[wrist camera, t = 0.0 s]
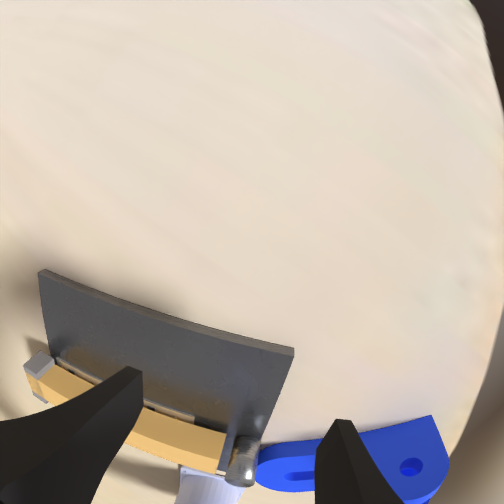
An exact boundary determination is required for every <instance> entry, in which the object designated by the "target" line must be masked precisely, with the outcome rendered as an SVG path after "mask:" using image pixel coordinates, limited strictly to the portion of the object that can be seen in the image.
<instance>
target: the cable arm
mask: <svg viewBox="0 0 504 504" xmlns="http://www.w3.org/2000/svg"><path fill="white" fill-rule="evenodd" d="M23 367H24V370H25V373H26V376H27V379H28V381H29V384H30V387H31V390H32V392H33V395H34V396H36V397H37V398H38V399H40V400H41V401H43V402H44V403H46V404H47V403H48V402H50V403H51V404H53V405H55V406H57V405H60V404H62V403H64V402H66V401H68V400H70V399H72V398H74V397H76V396H78V395H80V394H82V393H84V392H86V391H87V390H89V389H91V388H92V387H94V385H92V384H90V383H88V382H86V381H84V380H83V379H81V378H79V377H77V376H75V375H73V374H71V373H69V372H68V371H66V370H64V369H62V368H61V367H59V366H57V365H55V362H54V358H52V357H50V356H49V355H47V354H45V353H44V352H42V351H41V350H40V351H39V352H38V353H37V354H36V355H34V356H33V357H32V358H31V359H30V360H29V361H27V362H26V363H25V364H24V365H23ZM225 438H226V434H225V433H221V432H217V431H213V430H210V429H206V428H202V427H199V426H196V425H192V424H189V423H186V422H183V421H180V420H177V419H174V418H171V417H168V416H165V415H162V414H160V413H157V412H154V411H152V410H149V409H146V408H144V407H143V409H142V411H141V413H140V415H139V417H138V419H137V422H136V424H135V426H134V427H133V429H132V431H131V432H130V434H129V435H128V437H127V438H126V440H125V442H124V443H126V444H128V445H130V446H133V447H135V448H138V449H140V450H142V451H145V452H147V453H150V454H153V455H155V456H158V457H161V458H163V459H166V460H169V461H172V462H175V463H178V464H181V465H184V466H188V467H191V468H194V469H198V470H201V471H205V472H208V473H212V474H215V473H216V470H217V467H218V463H219V460H220V456H221V453H222V449H223V445H224V442H225Z"/></svg>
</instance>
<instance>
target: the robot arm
mask: <svg viewBox="0 0 504 504" xmlns="http://www.w3.org/2000/svg"><path fill="white" fill-rule="evenodd" d="M143 406H144V401H143V373H142V371H140V370H138V369H135V368H133V367H130V366H126V367H124V368H123V369H121V370H120V371H118V372H117V373H115V374H114V375H112V376H110V377H109V378H107V379H106V380H104V381H103V382H101V383H99V384H98V385H96V386H94V387H92V388H91V389H89V390H87V391H86V392H84V393H82V394H80V395H78V396H76V397H74V398H72V399H70V400H68V401H66V402H64V403H62V404H60V405H57V406H55V407H52V408H50V409H47V410H45V411H42V412H39V413H36V414H32V415H29V416H25V417H21V418H17V419H11V420H5V421H0V504H91V502H92V500H93V497H94V495H95V493H96V490H97V488H98V486H99V484H100V482H101V480H102V477H103V475H104V473H105V471H106V470H107V468H108V466H109V465H110V463H111V461H112V460H113V458H114V457H115V455H116V454H117V452H118V451H119V449H120V448H121V446H122V445H123V443H124V442H125V440H126V438H127V437H128V435H129V434H130V432H131V431H132V429H133V427H134V426H135V424H136V422H137V419H138V417H139V415H140V413H141V411H142V409H143ZM314 483H315V504H405V503H404V502H403V501H402V500H401V499H400V497H399V496H398V495H397V494H396V493H395V492H394V490H393V489H392V488H391V486H390V485H389V484H388V482H387V481H386V479H385V478H384V476H383V475H382V473H381V472H380V470H379V469H378V467H377V465H376V464H375V462H374V460H373V459H372V457H371V456H370V454H369V452H368V450H367V448H366V447H365V445H364V443H363V441H362V439H361V438H360V436H359V434H358V432H357V430H356V428H355V427H354V425H353V423H352V421H351V420H343V419H335V421H334V423H333V424H332V426H331V427H330V429H329V430H328V432H327V433H326V435H325V436H324V438H323V439H322V441H321V442H320V444H319V445H318V447H317V448H316V457H315V467H314ZM245 488H246V487H236V486H233V485H230V484H228V483H227V482H226V481H225V477H224V476H220V475H216V474H212V473H208V472H204V471H201V470H197V469H194V468H190V467H187V466H181V469H180V485H179V492H178V494H177V497H176V500H175V503H174V504H237V502H238V500H239V499H240V497H241V495H242V493H243V492H244V490H245Z"/></svg>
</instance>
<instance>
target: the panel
mask: <svg viewBox="0 0 504 504" xmlns="http://www.w3.org/2000/svg"><path fill="white" fill-rule="evenodd" d="M38 278H39V288H40V296H41V304H42V311H43V317H44V323H45V329H46V334H47V339H48V344H49V348H50V353H51V357H52V358H54V362H55V365H57V366H59V367H61V368H62V369H64V370H66V371H68V372H69V373H71V374H73V375H75V376H77V377H79V378H81V379H83V380H84V381H86V382H88V383H90V384H92V385H94V386H96V385H98V384H99V383H101V382H103V381H104V380H106V379H107V378H109V377H110V376H112V375H114V374H115V373H117V372H118V371H120V370H121V369H123V368H124V367H126V366H130V367H133V368H135V369H138V370H140V371H142V373H143V401H144V406H143V407H144V408H146V409H149V410H152V411H154V412H157V413H160V414H162V415H165V416H168V417H171V418H174V419H177V420H180V421H183V422H186V423H189V424H192V425H196V426H199V427H202V428H206V429H210V430H213V431H217V432H221V433H225V434H226V438H225V442H224V445H223V449H222V453H221V456H220V460H219V463H218V467H217V470H220V471H224V472H226V475H225V481H226V482H227V483H228V484H230V485H233V486H236V487H251V486H253V485H254V482H255V476H256V470H257V464H258V458H259V451H260V445H261V438H262V435H263V433H264V430H265V428H266V426H267V423H268V421H269V419H270V416H271V414H272V412H273V409H274V407H275V404H276V402H277V399H278V397H279V394H280V392H281V389H282V387H283V384H284V382H285V379H286V377H287V374H288V371H289V369H290V366H291V364H292V361H293V358H294V348H291V347H287V346H282V345H278V344H273V343H269V342H265V341H260V340H256V339H252V338H248V337H244V336H240V335H236V334H232V333H229V332H225V331H221V330H217V329H214V328H210V327H207V326H203V325H200V324H196V323H193V322H189V321H186V320H183V319H179V318H176V317H173V316H170V315H166V314H163V313H160V312H157V311H154V310H151V309H148V308H145V307H142V306H139V305H136V304H133V303H130V302H127V301H125V300H122V299H119V298H116V297H113V296H111V295H108V294H105V293H103V292H100V291H97V290H95V289H92V288H89V287H87V286H84V285H82V284H79V283H77V282H74V281H72V280H69V279H67V278H65V277H62V276H60V275H57V274H55V273H53V272H50V271H48V270H46V269H45V270H43V271H41V272H39V273H38Z"/></svg>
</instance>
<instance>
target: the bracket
mask: <svg viewBox="0 0 504 504" xmlns="http://www.w3.org/2000/svg"><path fill="white" fill-rule="evenodd" d="M358 434H359V436H360V438H361V439H362V441H363V443H364V445H365V447H366V448H367V450H368V452H369V454H370V456H371V457H372V459H373V460H374V462H375V464H376V465H377V467H378V469H379V470H380V472H381V473H382V475H383V476H384V478H385V479H386V481H387V482H388V484H389V485H390V486H391V488H392V489H393V490H394V492H395V493H396V494H397V495H398V496H399V497H400V499H401V500H402V501H403V502H404V503H405V504H428V502H429V500H430V498H431V497H432V496H433V495H434V494H435V493H436V491H437V490H438V488H439V487H440V485H441V484H442V482H443V480H444V479H445V477H446V475H447V473H448V469H449V457H448V454H447V452H446V449H445V446H444V444H443V441H442V439H441V436H440V434H439V431H438V429H437V427H436V424H435V422H434V420H433V417H432V415H429V416H426V417H423V418H419V419H416V420H412V421H409V422H405V423H401V424H397V425H393V426H389V427H385V428H381V429H376V430H372V431H367V432H362V433H358ZM321 441H322V439H316V440H306V441H295V442H285V443H279V444H275V445H272V446H269V447H267V448H265V449H263V450H261V451H260V452H259V458H258V464H257V470H256V476H255V481H256V482H257V483H259V484H260V485H262V486H264V487H266V488H269V489H272V490H276V491H283V492H305V491H315V483H314V467H315V457H316V448H317V447H318V445H319V444H320V442H321Z"/></svg>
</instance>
